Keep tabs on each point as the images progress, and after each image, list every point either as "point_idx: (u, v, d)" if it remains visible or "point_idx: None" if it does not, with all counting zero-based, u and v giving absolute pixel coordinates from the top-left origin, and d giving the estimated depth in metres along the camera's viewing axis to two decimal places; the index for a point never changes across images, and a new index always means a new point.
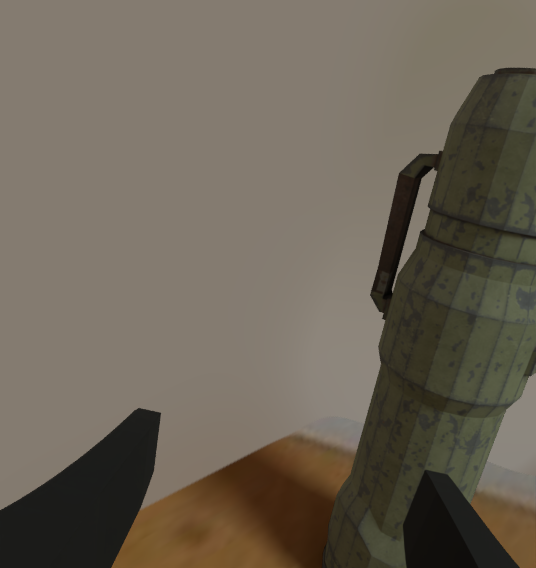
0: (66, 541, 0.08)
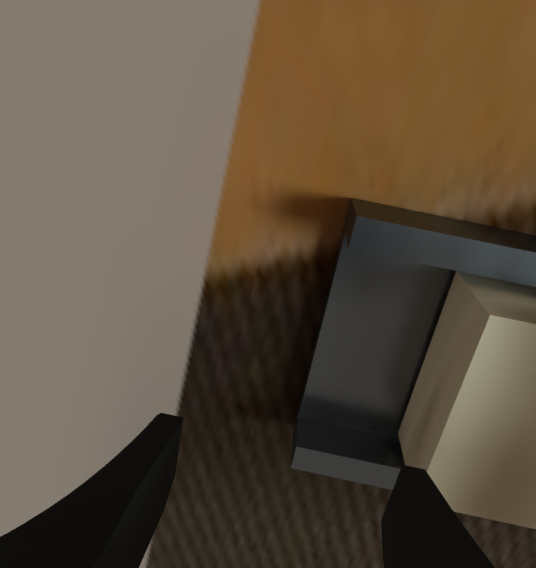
0: (102, 549, 0.08)
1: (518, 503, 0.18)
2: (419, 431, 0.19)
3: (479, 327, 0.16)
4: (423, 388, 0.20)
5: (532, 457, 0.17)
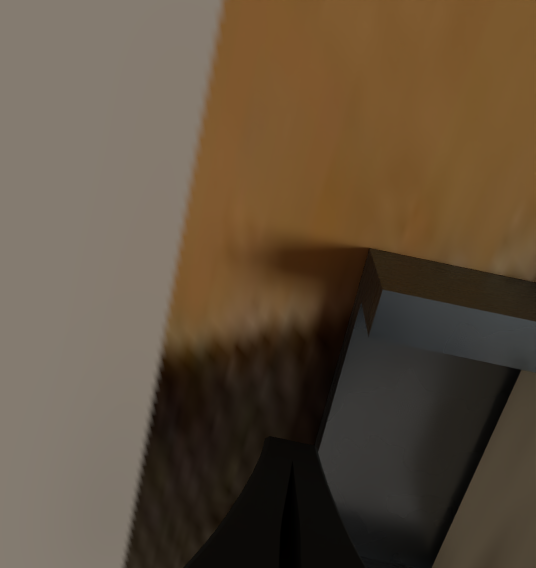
0: None
1: None
2: None
3: None
4: (473, 523, 0.14)
5: None
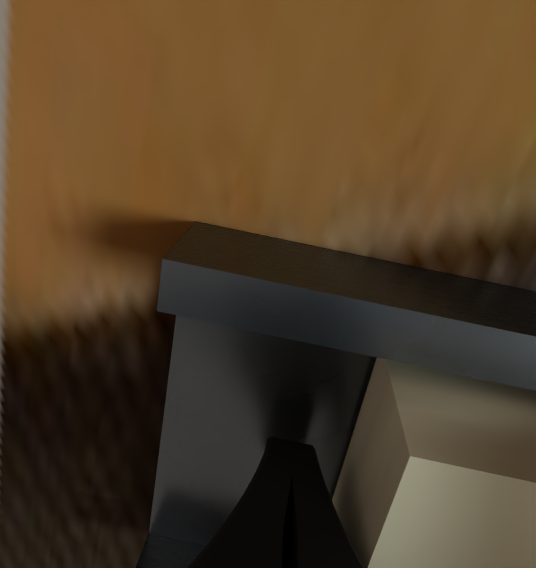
0: None
1: None
2: None
3: (395, 469, 0.09)
4: None
5: None
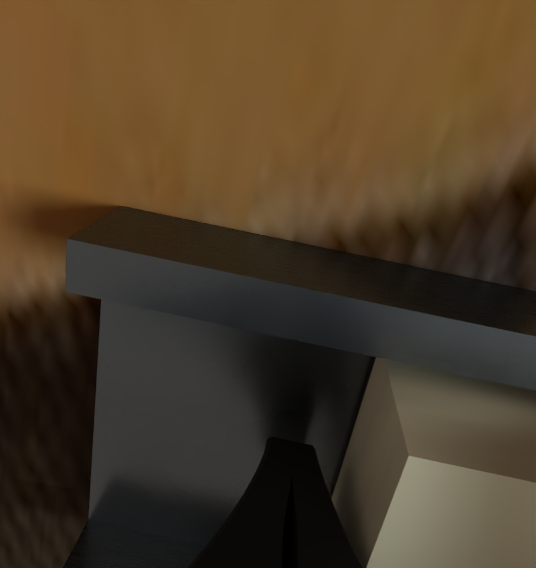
0: None
1: None
2: None
3: (395, 468, 0.09)
4: None
5: None
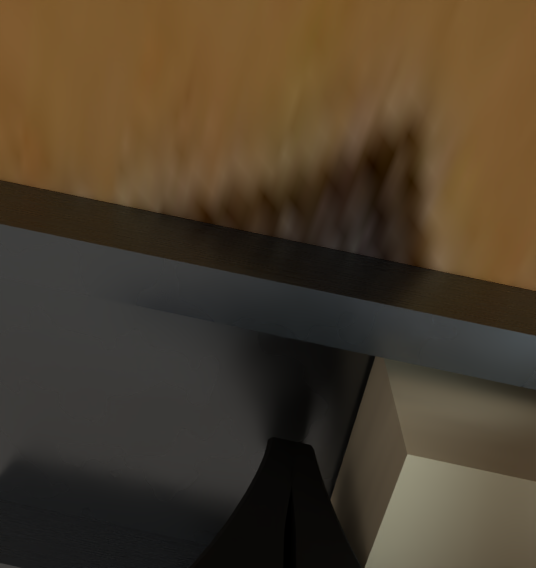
0: None
1: None
2: None
3: (393, 467, 0.09)
4: None
5: None
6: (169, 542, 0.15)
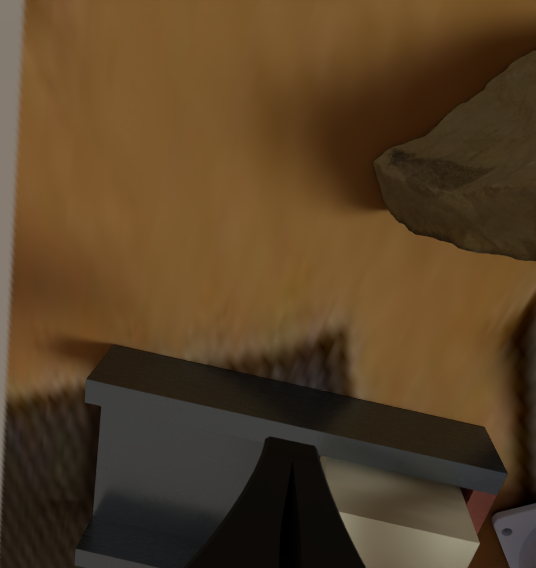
0: None
1: None
2: None
3: None
4: None
5: None
6: None
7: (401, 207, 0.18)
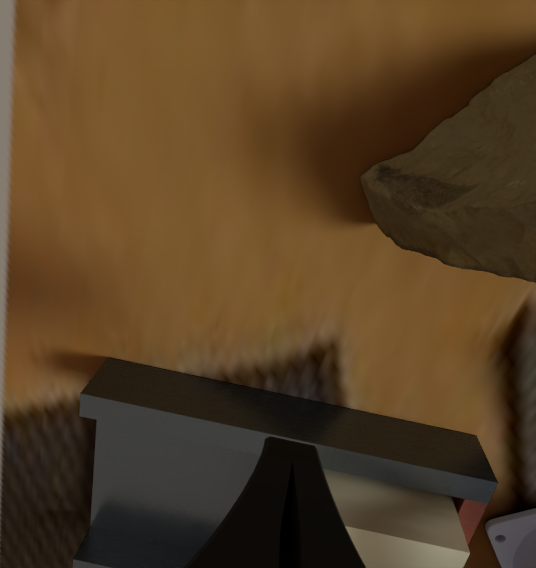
0: None
1: None
2: None
3: None
4: None
5: None
6: None
7: (387, 222, 0.18)
